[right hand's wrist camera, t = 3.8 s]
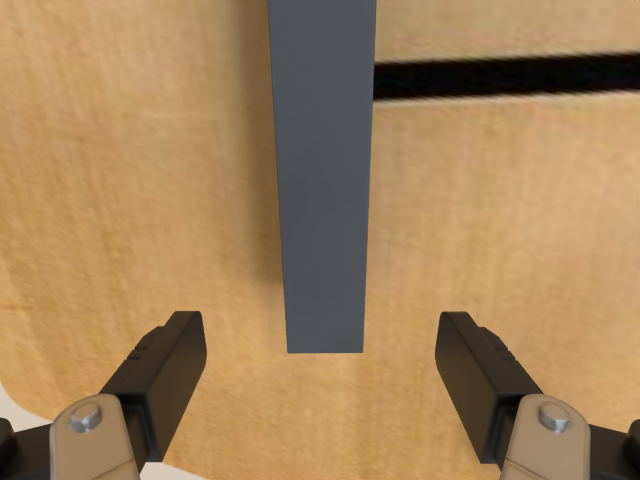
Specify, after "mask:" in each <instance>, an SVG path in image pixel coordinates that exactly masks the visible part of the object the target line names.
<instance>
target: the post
mask: <svg viewBox="0 0 640 480" xmlns="http://www.w3.org/2000/svg"><path fill="white" fill-rule="evenodd" d="M376 1H377V0H267V3H268V21H269V38H270V56H271V73H272V91H273V108H274V126H275V143H276V161H277V178H278V196H279V214H280V231H281V249H282V266H283V284H284V301H285V319H286V336H287V352H288V353H363V341H364V315H365V288H366V262H367V236H368V210H369V184H370V158H371V131H372V105H373V79H374V53H375V27H376Z"/></svg>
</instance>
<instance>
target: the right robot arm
mask: <svg viewBox="0 0 640 480" xmlns="http://www.w3.org/2000/svg"><path fill="white" fill-rule="evenodd" d="M206 357H207V349H206V342H205V335H204V328H203V321H202V315H201V313H200V312H199V311H175V312H174V313H173V314H172V316H171V317H170V319H169V320H168V321H167V323H166V324H165V325H164V326H158V327H156V328H155V329H153V330H152V331H150V332H149V333H147V334H146V335H145V336H143V338H142V339H141V340H140V341H139V343H138V344H137V345H136V347H135V349H134V350H132V352H131V353H130V354H129V355H128V357H127V360H124V362H123V363H122V364H121V365H120V367H119V368H118V369H117V371H116V372H115V373H114V374H113V376H112V377H111V378H110V379H109V381H108V382H107V383H106V384H105V386H104V387H103V388H102V390H101V391H100V392H99V393H98V394H96V395H92V396H88V397H86V398H83V399H81V400H79V401H77V402H75V403H73V404H71V405H70V406H68V407H67V408H66V409H64V410H63V411H62V412H61V413H60V414H59V415H58V416H57V417H56V418H55V420H54V421H53V423H51V424H48V425H43V426H39V427H35V428H31V429H27V430H23V431H19V432H15V433H14V431H13V428H12V426H11V424H10V422H9V421H8V420H7V419H5V418H0V480H141V479H140V473H141V471H142V469H143V467H144V465H145V463H146V462H162V460H163V458H164V456H165V454H166V452H167V449H168V447H169V445H170V443H171V441H172V438H173V436H174V434H175V432H176V430H177V427H178V425H179V423H180V421H181V419H182V416H183V414H184V412H185V410H186V407H187V405H188V403H189V401H190V399H191V396H192V394H193V392H194V390H195V388H196V385H197V383H198V381H199V379H200V377H201V374H202V372H203V370H204V367H205V364H206ZM435 360H436V365H437V369H438V371H439V373H440V376H441V378H442V380H443V382H444V384H445V386H446V389H447V391H448V393H449V395H450V397H451V400H452V402H453V404H454V406H455V408H456V410H457V413H458V415H459V417H460V419H461V421H462V424H463V426H464V428H465V430H466V432H467V434H468V437H469V439H470V441H471V443H472V445H473V447H474V450H475V452H476V454H477V456H478V458H479V461H480V463H481V464H497V465H498V467H499V469H500V471H501V475H500V479H499V480H640V419H638V420H635V421H633V423H632V424H631V426H630V428H629V431H628V433H623V432H619V431H615V430H611V429H607V428H602V427H598V426H594V425H591V424H588V423H587V421H586V420H585V418H584V417H583V416H582V415H581V414H580V413H579V412H578V411H577V410H576V409H574V408H573V407H572V406H570V405H569V404H567V403H565V402H563V401H561V400H559V399H557V398H554V397H552V396H548V395H544V393H543V392H542V391H541V390H540V388H539V387H538V386H537V385H536V383H535V382H534V381H533V380H532V378H531V377H530V376H529V374H528V373H527V372H526V371H525V369H524V368H523V367H522V366H521V364H520V363H519V362H518V361H516V360H515V357H514V356H513V354H512V353H511V352H510V351H508V348H507V347H506V346H505V344H504V343H503V342H502V341H501V339H500V338H499V337H498V336H497V335H495V334H494V333H492V332H491V331H489V330H488V329H486V328H485V327H478V326H477V325H476V323H475V322H474V320H473V319H472V318H471V316H470V315H469V314H468V313H467V312H442V313H441V315H440V320H439V327H438V334H437V341H436V348H435Z"/></svg>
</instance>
